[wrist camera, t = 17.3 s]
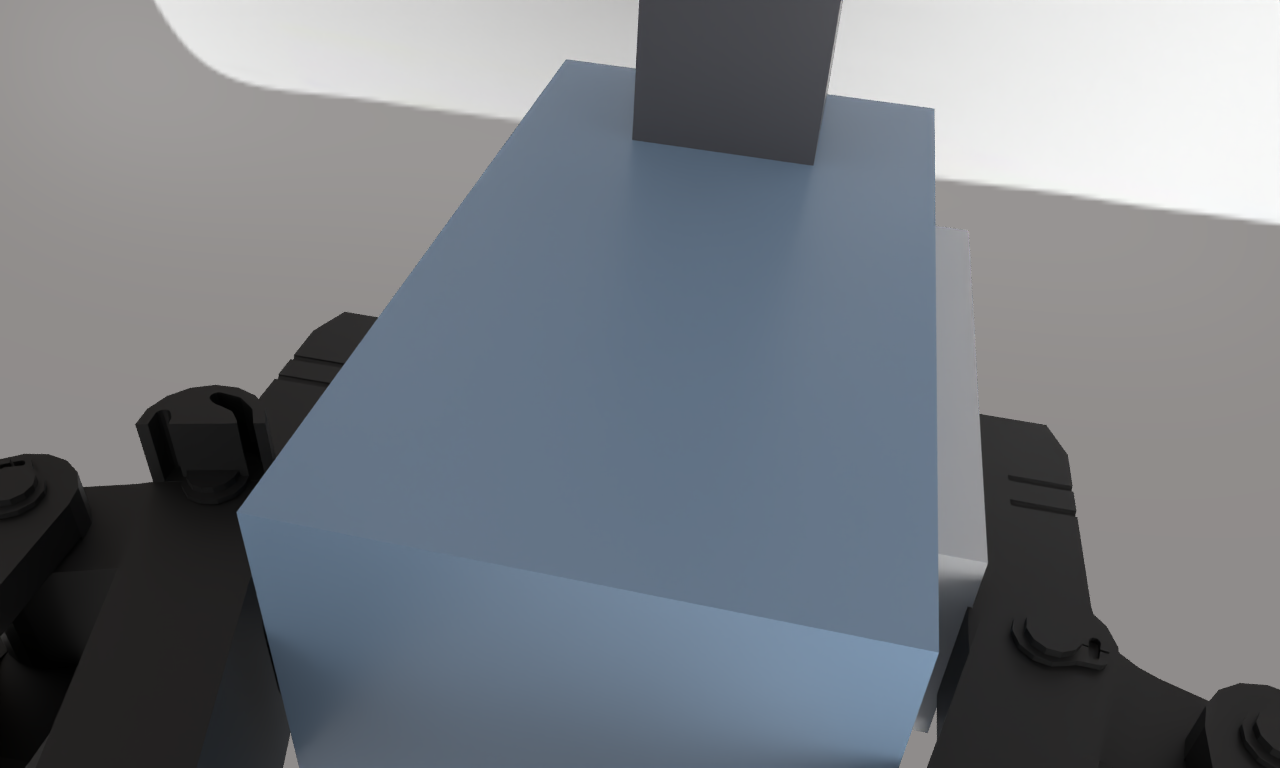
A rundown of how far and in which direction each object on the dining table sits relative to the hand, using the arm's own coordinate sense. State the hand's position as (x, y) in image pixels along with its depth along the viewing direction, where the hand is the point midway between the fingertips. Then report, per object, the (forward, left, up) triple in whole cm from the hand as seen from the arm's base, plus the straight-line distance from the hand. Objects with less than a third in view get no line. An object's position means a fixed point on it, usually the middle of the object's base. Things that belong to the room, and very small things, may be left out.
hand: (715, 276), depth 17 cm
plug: (-4, 0, -1) cm, 4 cm away
